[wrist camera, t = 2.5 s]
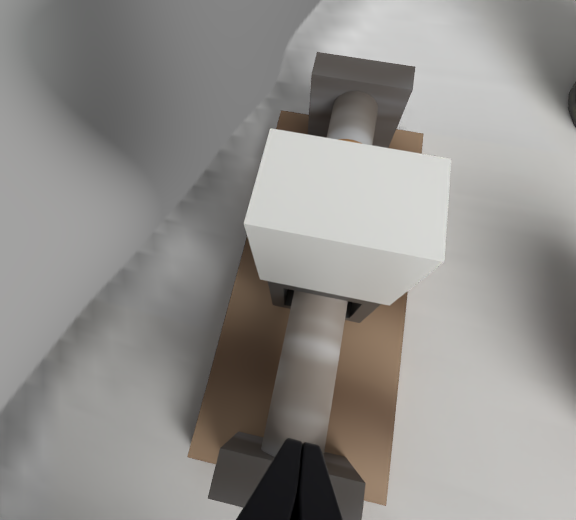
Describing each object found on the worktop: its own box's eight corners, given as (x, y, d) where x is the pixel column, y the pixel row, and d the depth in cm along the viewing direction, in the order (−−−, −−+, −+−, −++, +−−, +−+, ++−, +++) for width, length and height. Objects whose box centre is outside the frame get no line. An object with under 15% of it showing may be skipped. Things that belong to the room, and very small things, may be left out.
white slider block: (365, 324, 17) (444, 262, 8) (266, 304, 18) (243, 223, 9) (373, 267, 18) (451, 158, 9) (279, 249, 19) (270, 128, 10)
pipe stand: (377, 495, 17) (422, 553, 11) (195, 451, 17) (149, 483, 12) (415, 149, 23) (455, 72, 17) (281, 126, 24) (279, 46, 18)
